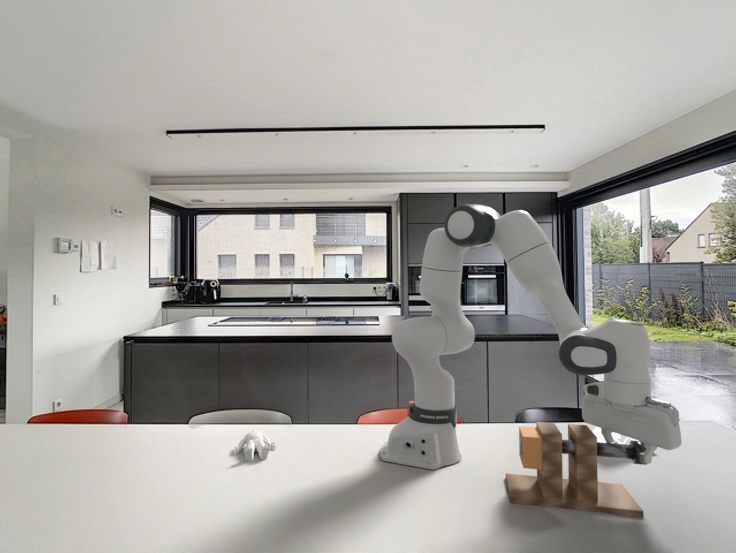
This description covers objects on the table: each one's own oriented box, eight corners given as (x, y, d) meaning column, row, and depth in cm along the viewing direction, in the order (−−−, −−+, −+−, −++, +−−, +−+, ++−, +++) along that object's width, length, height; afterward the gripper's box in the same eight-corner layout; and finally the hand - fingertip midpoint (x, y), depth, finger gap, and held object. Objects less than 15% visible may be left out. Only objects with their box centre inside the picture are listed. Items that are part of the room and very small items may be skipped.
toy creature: (233, 449, 112) (233, 425, 123) (233, 469, 113) (232, 443, 124) (279, 444, 116) (274, 420, 127) (278, 463, 117) (274, 438, 128)
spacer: (523, 468, 94) (523, 436, 94) (519, 455, 101) (519, 426, 101) (542, 469, 93) (542, 438, 93) (537, 457, 100) (536, 427, 100)
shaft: (522, 457, 95) (522, 436, 95) (519, 449, 100) (519, 429, 100) (648, 468, 89) (648, 445, 90) (639, 459, 94) (638, 437, 94)
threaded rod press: (511, 502, 92) (510, 434, 92) (505, 478, 104) (505, 417, 104) (643, 517, 86) (642, 443, 87) (622, 489, 98) (621, 424, 98)
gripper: (687, 402, 84) (689, 472, 84) (595, 381, 103) (596, 438, 103) (668, 406, 82) (669, 478, 81) (577, 384, 100) (578, 442, 100)
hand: (628, 455), depth 92 cm, fingers closed on shaft, 6 cm apart
